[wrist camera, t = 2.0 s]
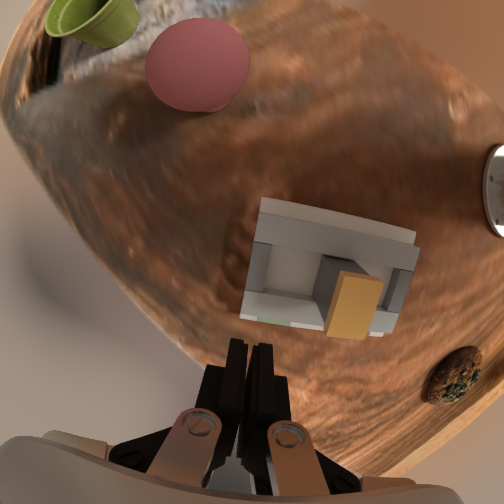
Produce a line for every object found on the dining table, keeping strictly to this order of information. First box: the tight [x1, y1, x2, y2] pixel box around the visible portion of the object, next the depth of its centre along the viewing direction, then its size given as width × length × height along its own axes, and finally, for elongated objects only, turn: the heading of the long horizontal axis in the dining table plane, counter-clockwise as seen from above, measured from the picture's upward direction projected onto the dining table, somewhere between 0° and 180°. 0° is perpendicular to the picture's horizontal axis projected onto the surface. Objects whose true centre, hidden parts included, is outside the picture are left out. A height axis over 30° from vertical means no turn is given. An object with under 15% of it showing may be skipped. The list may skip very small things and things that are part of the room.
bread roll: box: [427, 346, 483, 406], centre depth 30 cm, size 11×11×5 cm
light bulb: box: [145, 18, 250, 113], centre depth 18 cm, size 7×7×12 cm
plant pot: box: [45, 0, 140, 48], centre depth 17 cm, size 9×9×9 cm
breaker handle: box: [312, 254, 384, 340], centre depth 22 cm, size 3×5×7 cm
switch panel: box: [240, 196, 420, 337], centre depth 26 cm, size 16×12×3 cm
